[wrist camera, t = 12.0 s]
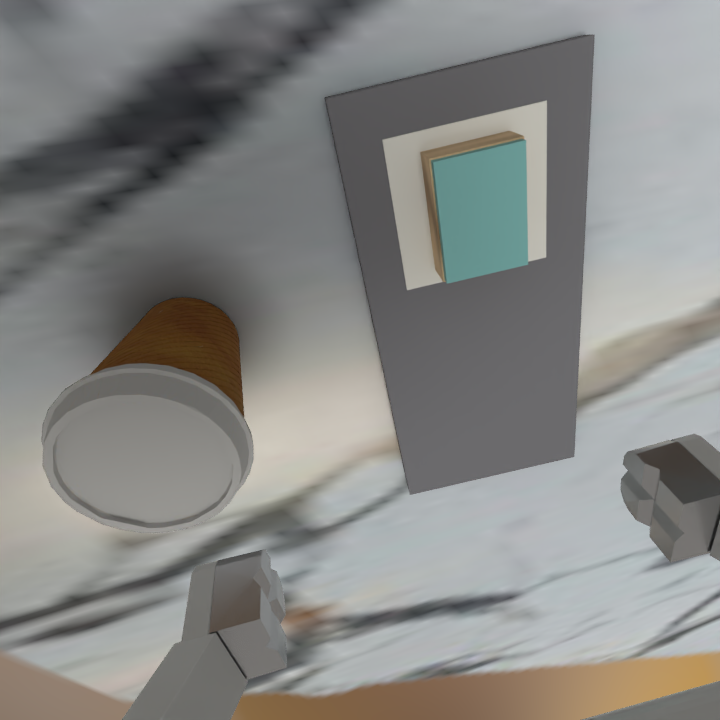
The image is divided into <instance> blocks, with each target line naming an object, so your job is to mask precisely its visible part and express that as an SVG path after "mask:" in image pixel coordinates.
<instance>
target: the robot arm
mask: <svg viewBox="0 0 720 720" xmlns="http://www.w3.org/2000/svg"><path fill="white" fill-rule="evenodd" d="M623 465H624V466H625V468H626V469H627V470H628V471H627V473H626V474H625V475H624V476H623V477H622V479H621V493H622V496H623V500H624V502H625V504H626V506H627V508H628V510H629V511H630V513H631V514H632V515H633V516H634V518H635V519H636V520H637V521H639V522H641V523H643V524H646V525H648V526H650V538H651V539H652V540H653V541H654V543H655V544H656V545H657V546H658V548H659V549H660V550H661V551H662V553H663V554H664V555H665V556H666V558H667V559H668V560H669V561H670V562H674V561H678V560H683V559H687V558H691V557H695V556H699V555H703V554H707V553H710V556H712V557H714V558H716V559H717V560H719V561H720V452H719V451H717V450H716V449H715V448H714V447H713V446H712V445H710V444H709V443H708V442H707V441H706V440H705V439H703V438H702V437H701V436H699V435H696V434H692V435H688V436H684V437H680V438H677V439H673V440H667V441H664V442H660V443H657V444H653V445H650V446H646V447H643V448H639V449H635V450H632V451H628V452H627V453H626V454H625V456H624V461H623ZM284 617H285V600H284V594H283V588H282V585H281V581H280V578H279V576H278V574H277V571H275V570H273V569H271V560H270V557H269V555H268V553H267V551H266V549H265V550H259V551H255V552H251V553H247V554H243V555H239V556H234V557H230V558H226V559H222V560H218V561H214V562H210V563H206V564H202V565H198V566H195V568H194V570H193V573H192V575H191V582H190V588H189V595H188V602H187V608H186V615H185V621H184V628H183V635H182V641H181V642H179V643H176V644H174V645H173V647H172V648H171V650H170V651H169V652H168V654H167V655H166V657H165V658H164V660H163V661H162V663H161V664H160V665H159V667H158V668H157V670H156V671H155V673H154V674H153V676H152V677H151V678H150V680H149V681H148V683H147V684H146V686H145V687H144V689H143V690H142V691H141V693H140V694H139V696H138V697H137V699H136V700H135V702H134V703H133V704H132V706H131V708H130V709H129V710H128V712H127V713H126V715H125V716H124V717H123V719H122V720H230V719H231V717H232V715H233V713H234V711H235V709H236V707H237V704H238V702H239V700H240V698H241V696H242V694H243V691H244V689H245V687H246V685H247V683H248V682H247V679H251V678H254V677H257V676H261V675H264V674H267V673H270V672H274V671H277V670H280V669H283V668H287V655H286V635H285V633H284V631H283V629H282V627H281V625H280V624H281V622H282V620H283V618H284ZM583 720H720V681H718V682H714V683H711V684H707V685H703V686H700V687H696V688H693V689H689V690H685V691H682V692H678V693H675V694H671V695H668V696H664V697H661V698H657V699H654V700H650V701H646V702H643V703H639V704H636V705H633V706H629V707H625V708H622V709H618V710H614V711H611V712H607V713H604V714H601V715H597V716H593V717H590V718H586V719H583Z"/></svg>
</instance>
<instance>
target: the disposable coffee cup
mask: <svg viewBox="0 0 720 720" xmlns="http://www.w3.org/2000/svg"><path fill="white" fill-rule="evenodd" d="M239 351H240V350H239V337H238V333H237V330H236V328H235V326H234V324H233V322H232V321H231V320H230V319H229V317H228V316H227V315H226V314H225V313H224V312H223V311H222V310H220V309H219V308H217V307H215V306H214V305H212V304H210V303H208V302H205V301H202V300H199V299H195V298H184V297H182V298H173V299H169V300H166V301H163V302H161V303H159V304H157V305H156V306H154V307H153V308H152V309H151V310H150V311H149V312H148V313H147V314H146V315H145V316H144V317H143V318H142V319H141V321H140V322H139V323H138V324H137V325H136V326H135V327H134V328H133V329H132V330H131V331H130V332H129V333H128V334H127V335H126V336H125V337H124V338H123V340H122V341H121V342H120V343H119V344H118V345H117V346H116V347H115V348H114V349H113V350H112V351H111V352H110V354H109V355H108V356H107V357H106V358H105V359H104V360H103V361H102V362H101V363H100V364H99V365H98V367H97V368H96V369H95V370H94V371H93V372H92V373H91V374H90V375H89V376H86V377H84V378H82V379H81V380H79V381H77V382H76V383H74V384H72V385H71V386H69V387H68V388H66V389H65V390H64V391H63V392H62V393H61V394H60V395H59V397H58V398H57V399H56V400H55V402H54V403H53V404H52V405H51V407H50V408H49V409H48V412H47V414H46V417H45V420H44V422H43V427H42V444H43V468H44V470H45V473H46V475H47V478H48V480H49V482H50V485H51V487H52V488H53V489H54V490H55V491H56V493H57V494H58V495H59V496H60V497H61V498H62V500H63V501H64V502H65V503H67V504H68V505H69V506H71V507H72V508H73V509H74V510H76V511H77V512H79V513H81V514H83V515H85V516H87V517H89V518H91V519H93V520H95V521H97V522H99V523H101V524H103V525H106V526H110V527H113V528H117V529H120V530H126V531H132V532H139V533H163V532H172V531H177V530H183V529H188V528H190V527H193V526H195V525H198V524H200V523H203V522H206V521H207V520H209V519H210V518H212V517H214V516H215V515H217V514H218V513H220V512H221V511H222V510H223V509H224V508H225V507H226V506H227V505H228V504H229V503H230V502H231V500H232V498H233V497H234V495H235V494H236V492H237V491H238V490H239V489H240V487H241V486H242V485H243V484H244V482H245V480H246V479H247V477H248V475H249V473H250V470H251V466H252V463H253V441H252V435H251V432H250V429H249V427H248V425H247V423H246V421H245V419H244V411H243V410H244V407H243V393H242V380H241V365H240V352H239Z"/></svg>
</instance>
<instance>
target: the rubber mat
mask: <svg viewBox="0 0 720 720" xmlns="http://www.w3.org/2000/svg"><path fill="white" fill-rule="evenodd" d="M593 56H594V35H583V36H579V37H575V38H570V39H566V40H562V41H558V42H554V43H550V44H545V45H541V46H537V47H533V48H529V49H525V50H520V51H516V52H512V53H508V54H504V55H500V56H495V57H491V58H487V59H483V60H479V61H475V62H471V63H466V64H462V65H458V66H454V67H450V68H446V69H441V70H437V71H433V72H429V73H425V74H421V75H416V76H412V77H408V78H404V79H400V80H396V81H391V82H387V83H383V84H379V85H375V86H371V87H366V88H362V89H358V90H354V91H350V92H346V93H342V94H337V95H333V96H329V97H325V101H326V106H327V110H328V115H329V120H330V124H331V129H332V134H333V138H334V143H335V148H336V152H337V157H338V162H339V166H340V171H341V176H342V180H343V185H344V190H345V195H346V199H347V204H348V209H349V213H350V218H351V223H352V227H353V232H354V237H355V241H356V246H357V251H358V255H359V260H360V265H361V269H362V274H363V279H364V283H365V288H366V293H367V297H368V302H369V307H370V311H371V316H372V321H373V325H374V330H375V335H376V339H377V344H378V349H379V354H380V358H381V363H382V368H383V372H384V377H385V382H386V386H387V391H388V396H389V400H390V405H391V410H392V414H393V419H394V424H395V428H396V433H397V438H398V442H399V447H400V452H401V456H402V461H403V466H404V470H405V475H406V480H407V484H408V489H409V492H410V495H411V494H416V493H420V492H424V491H429V490H433V489H437V488H442V487H446V486H450V485H454V484H459V483H463V482H467V481H472V480H476V479H480V478H485V477H489V476H493V475H498V474H502V473H506V472H510V471H515V470H519V469H523V468H528V467H532V466H536V465H541V464H545V463H549V462H554V461H558V460H562V459H566V458H571V457H574V450H575V429H576V408H577V388H578V367H579V346H580V325H581V305H582V284H583V263H584V242H585V222H586V201H587V180H588V159H589V139H590V118H591V97H592V76H593ZM506 131H512V132H515V133H517V134H520V135H523V136H524V140H526V160H527V221H528V265H524V266H520V267H516V268H512V269H507V270H503V271H499V272H495V273H490V274H486V275H482V276H478V277H473V278H469V279H465V280H461V281H457V282H452V283H448V284H447V283H446V282H443V281H442V279H441V278H440V276H439V275H438V273H437V272H436V270H435V264H434V257H433V249H432V241H431V233H430V225H429V217H428V209H427V201H426V193H425V185H424V177H423V170H422V162H421V154H420V152H422V151H426V150H430V149H435V148H439V147H443V146H447V145H451V144H456V143H460V142H464V141H468V140H472V139H477V138H481V137H485V136H489V135H493V134H498V133H502V132H506Z"/></svg>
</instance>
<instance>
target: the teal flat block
mask: <svg viewBox="0 0 720 720" xmlns="http://www.w3.org/2000/svg"><path fill="white" fill-rule="evenodd" d="M420 154H421V162H422V170H423V177H424V185H425V193H426V201H427V209H428V217H429V225H430V233H431V241H432V249H433V257H434V264H435V270H436V272H437V273H438V275H439V276H440V278H441V279H442V281H443V282H446V283H447V284H448V283H452V282H457V281H461V280H465V279H469V278H473V277H478V276H482V275H486V274H490V273H495V272H499V271H503V270H507V269H512V268H516V267H520V266H524V265H528V221H527V160H526V140H524V136H523V135H520V134H517V133H515V132H512V131H506V132H502V133H498V134H493V135H489V136H485V137H481V138H477V139H472V140H468V141H464V142H460V143H456V144H451V145H447V146H443V147H439V148H435V149H430V150H426V151H422V152H420Z"/></svg>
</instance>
